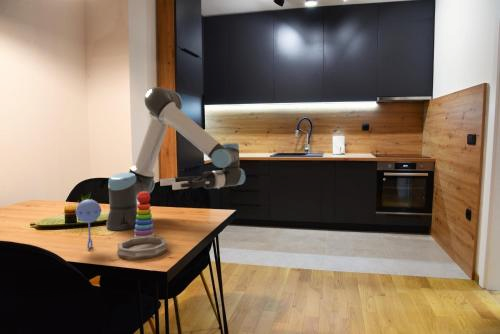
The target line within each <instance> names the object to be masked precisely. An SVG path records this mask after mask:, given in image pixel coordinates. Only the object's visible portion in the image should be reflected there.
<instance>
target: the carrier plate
mask: <svg viewBox="0 0 500 334" xmlns="http://www.w3.org/2000/svg"><path fill="white" fill-rule="evenodd" d="M116 252H117V257H118V256H119V257H118V258H120V257H121V258H120V259H122V258H124V259H123V260H127V259H132V260H131V261H141V259H143V260H148V258H150V259H153V257H154V258H158V257H160V256H162V254H163V255H164V254H166V253H167V252H168V241H166V239H165V238H164V237H159V236H154V237H151V236H147V237H139V238H134V237H133V238H128V239H126V240H124V241H122V242H119V243H117V251H116ZM157 256H158V257H157Z"/></svg>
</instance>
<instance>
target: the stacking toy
mask: <svg viewBox="0 0 500 334" xmlns="http://www.w3.org/2000/svg"><path fill="white" fill-rule="evenodd" d="M150 194H151V193H148V192H145V191H143V192H140V193H139V194H138V196H137V215H136V218H137V219H136V225H135V228H134V235H133V238H139V237H147V236H151V237H156V235H155V233H154V231H155V229H154V223H153V218H152V216H153V214H152V213H151V212H152V209H150V208H151V204H150V203H149V202H150V201H151V195H150Z"/></svg>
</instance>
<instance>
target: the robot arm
mask: <svg viewBox="0 0 500 334" xmlns="http://www.w3.org/2000/svg"><path fill="white" fill-rule="evenodd" d="M144 96H145V97H144V105H145V107H146V109H147V110H148V111H149V112H148V115H149V116H150V120H149V122H148V126H147V129H146V132H145V135H144V138H143V140H142V144H141V146H140V150H139V151H138V152H139V153H138V155H137V159H136V162H135V164H134V165H133V166H130V169H129V171H128V172H120V173H116V174H113V175H111V176H110V177H109V178H108V185H107V186H108V187H107V188H108V198H109V199H108V201H109V212H108V213H109V214H107V220H106V222H105V223H106V224H105V225H106V226H105V227H106V229H107V230H109V231H129V230H133V229H134V230H135V229H136V228H135V225H136V219H137V218H136V215H137V209H138V208H137V205H138V200H137V196H138V194H139V193H140V192H143V191H145V192H148V193H149V194H151V193H152V192H153V190H154V188H155V175H156V173H155V172H154V168H155V166H156V162H157V159H158V157H159V153H160V150H161V148H162V146H163V142H164V139H165V136H166V134H167V131H168V127H169V126H170V127H172V128H173V129H174V130H176V131H177V132H178V133H179V134H180V135H181V136H182V137H184V138H185V139H186V140H188V142H190V143H191V144H192V145H193V146H195V147H196V148H197V149H198V150H200V152H202V153H203V154H204V155H205V156H207V157H208V158H209V159H210V160H211V162H212V164H213V165H214V166H215V167H216V168H219V169H221V168H222V169H221V170H219V169H218V170H212V171H204V172H202V173H201V176H199V175H195V176H181V177H180V176H179V177H176V176H175V177H172V178H171V177H169V178H160V180H159V182H160V183H159V184H160V185H159V186H160V187H162V186H171V187H172V190H173V191H176V190H184V189H198V188H204V189H206V190H208V189H209V190H210V189H218V190H220V189H221V188H225V187H236V186H239V185H240V186H241V185H243V184H244V183H245V182H246V174H245V170H244V169H243V168H241V167H240V146H239V143H237V142H230V143H227V142H226V143H225V142H224V143H223V144H221V143H220V142H219V141H218V140H217V139H215V138H214V137H213V136H212V135H210V134H209V133H208V132H207V131H205V130H204V129H203V128H202V126H200V125H199V124H197V123H196V122H195V121H194V120H193V119H192V118H190V117H189V116H188V115H187V114H185V113H184V111H183V110H182V108H183V99H182V97H181V96H180V94H179V93H178V92H176V91H174V90H173V89H169V88H164V87H161V86H156V87H152V88H150V89H149V90H148V91H147V92H146V94H145V95H144Z"/></svg>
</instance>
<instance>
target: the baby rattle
mask: <svg viewBox="0 0 500 334" xmlns="http://www.w3.org/2000/svg"><path fill="white" fill-rule="evenodd" d="M101 214H102V207H101V205H100V204H99V203H98V201H96V200H94V199H91V198H90V199H84V200H82V201H80V202H79V203H78V204H77V205H76V208H75V215H76V217H77V219H78V220H79V221H81V222H83V223H87V224H88V225H87V226H88V230H87V231H88V239H87V245H86V247H87V250H90V249H92V248H93V240H92V238H91V237H92V236H91V223H93V222H95V221H96V220H98V219H99V217H100V216H101Z"/></svg>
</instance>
